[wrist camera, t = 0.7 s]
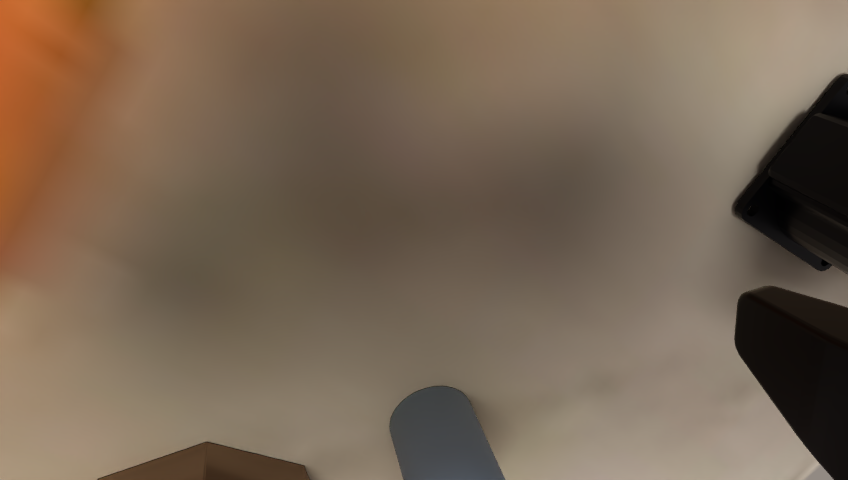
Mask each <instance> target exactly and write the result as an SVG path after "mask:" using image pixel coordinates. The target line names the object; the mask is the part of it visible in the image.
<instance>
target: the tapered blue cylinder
mask: <svg viewBox="0 0 848 480" xmlns="http://www.w3.org/2000/svg"><path fill="white" fill-rule="evenodd" d="M390 433H391V437H392V440H393V444H394V447H395V451H396V455H397V458H398V462H399V465H400V469H401V472H402V476H403V479H404V480H505V478H504V476H503V474H502V471H501V469H500V467H499V465H498V463H497V460H496V458H495V456H494V454H493V452H492V449H491V447H490V445H489V443H488V441H487V439H486V436H485V434H484V432H483V430H482V428H481V425H480V423H479V421H478V419H477V417H476V415H475V412H474V410H473V408H472V406H471V404H470V402H469V400H468V398H467V397H466V396H465V395H464V394H463V393H462V392H460V391H459V390H457V389H454V388H451V387H445V386H436V387H429V388H425V389H422V390H420V391H417V392H415V393H413V394H411V395H410V396H408V397H407V398H406V399H404V400H403V401H402V402H401V403H400V404H399V405H398V407H397V408H396V409H395V411H394V412H393V414H392V417H391V420H390Z"/></svg>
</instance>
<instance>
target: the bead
mask: <svg viewBox="0 0 848 480" xmlns="http://www.w3.org/2000/svg"><path fill="white" fill-rule="evenodd" d="M98 480H310V479H309V477H308V475H307V472H306V470H305V468H304V466H302V465H298V464H294V463H290V462H285V461H281V460H277V459H273V458H269V457H265V456H261V455H257V454H253V453H249V452H245V451H240V450H236V449H232V448H228V447H224V446H220V445H216V444H212V443H208V442H206V443H203V444H200V445H197V446H194V447H191V448H188V449H185V450H183V451H180V452H177V453H174V454H171V455H168V456H165V457H162V458H159V459H156V460H153V461H150V462H147V463H144V464H142V465H139V466H136V467H133V468H130V469H127V470H124V471H121V472H118V473H115V474H112V475H109V476H106V477H103V478H101V479H98Z"/></svg>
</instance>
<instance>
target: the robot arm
mask: <svg viewBox="0 0 848 480" xmlns="http://www.w3.org/2000/svg"><path fill="white" fill-rule="evenodd" d="M847 89H848V74H845V75H843V76H841V77H840V78H839V79H838V80H837V81H836V82H835V83H834V84H833V86H832V87H831V88H830V89H829V91H828V92H827V93H826V94H825V96H824V97H823V98H822V99H821V100H820V102H819V103H818V104H817V105H816V107H815V108H814V109H813V110H812V112H811V113H810V114H809V115H808V116H807V118H806V119H805V120H804V121H803V123H802V124H801V125H800V126H799V128H798V129H797V130H796V131H795V132H794V134H793V135H792V136H791V137H790V139H789V140H788V141H787V142H786V144H785V145H784V146H783V147H782V148H781V150H780V151H779V152H778V153H777V155H776V156H775V157H774V158H773V160H772V161H771V162H770V163H769V164H768V166H767V167H766V168H765V169H764V171H763V172H762V173H761V174H760V176H759V177H758V178H757V179H756V180H755V182H754V183H753V184H752V185H751V187H750V188H749V189H748V190H747V192H746V193H745V194H744V195H743V196H742V198H741V199H740V200H739V201H738V203H737V205H736V207H735V214H736V215H737V216H738V217H739V218H741V219H742V220H744V221H745V222H747V223H748V224H750V225H751V226H753V227H754V228H755V229H757V230H758V231H760V232H761V233H763V234H764V235H766V236H767V237H769V238H770V239H772V240H773V241H775V242H776V243H778V244H779V245H781V246H782V247H784V248H785V249H787V250H788V251H790V252H791V253H793V254H794V255H796V256H797V257H799V258H800V259H802V260H803V261H805V262H806V263H808V264H809V265H811V266H812V267H814V268H815V269H817V270H819V271H825V270H827V269H829V268H830V267H831V266H832V265H833V266H835V267H837V268H838V269H840V270H841V271H843V272H845V273H846V274H848V90H847ZM750 207H751V208H750ZM749 208H750V209H749ZM748 209H749V210H748ZM734 340H735V346H736V349H737V351H738V353H739V355H740V357H741V358H742V360H743V361H744V362H745V364H746V365H747V367H748V368H749V369H750V371H751V372H752V374H753V375H754V376H755V378H756V379H757V380H758V382H759V383H760V385H761V386H762V387H763V389H764V390H765V392H766V393H767V394H768V396H769V397H770V399H771V400H772V401H773V403H774V404H775V406H776V407H777V408H778V410H779V411H780V413H781V414H782V415H783V417H784V418H785V419H786V421H787V422H788V424H789V425H790V426H791V428H792V429H793V431H794V432H795V433H796V435H797V436H798V437H799V439H800V440H801V441H802V442H803V444H804V445H805V446H806V448H807V449H808V450H809V451H810V452H811V454H812V455H813V456H814V457H815V458H816V460H817V461H818V462H819V463H820V464H821V465H822V466H823V468H824V469H825V470H826V471H827V472H828V473H829V474H830V476H831V477H832V478H833V479H834V480H848V308H847V307H844V306H840V305H837V304H834V303H830V302H827V301H823V300H820V299H816V298H813V297H809V296H806V295H802V294H799V293H796V292H792V291H789V290H785V289H782V288H778V287H774V286H764V287H761V288H757V289H754V290H751V291H748V292H745V293H743V294H742V295H741V296H740V298H739V299H738V304H737V315H736V325H735V336H734Z"/></svg>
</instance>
